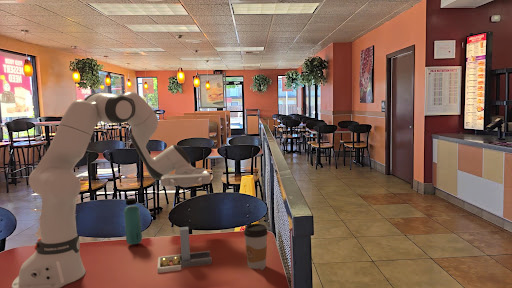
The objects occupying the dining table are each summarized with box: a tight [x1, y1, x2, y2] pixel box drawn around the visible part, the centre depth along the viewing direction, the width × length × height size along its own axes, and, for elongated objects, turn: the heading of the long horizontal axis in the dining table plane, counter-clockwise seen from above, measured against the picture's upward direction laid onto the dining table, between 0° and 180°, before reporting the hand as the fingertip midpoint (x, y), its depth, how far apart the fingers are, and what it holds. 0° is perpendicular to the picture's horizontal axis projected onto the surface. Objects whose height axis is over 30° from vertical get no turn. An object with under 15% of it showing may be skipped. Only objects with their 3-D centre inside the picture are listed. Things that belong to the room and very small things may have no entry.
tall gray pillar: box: [179, 226, 191, 261], centre depth 141 cm, size 3×4×13 cm
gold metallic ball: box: [160, 258, 170, 267], centre depth 140 cm, size 3×3×3 cm
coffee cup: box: [243, 223, 268, 271], centre depth 138 cm, size 8×8×15 cm
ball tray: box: [157, 253, 182, 274], centre depth 140 cm, size 8×10×2 cm
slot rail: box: [180, 250, 213, 269], centre depth 143 cm, size 11×7×3 cm, turn 102°
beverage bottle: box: [123, 197, 143, 245], centre depth 162 cm, size 6×7×20 cm
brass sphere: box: [172, 257, 181, 266], centre depth 142 cm, size 3×3×3 cm
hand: (186, 183), depth 154 cm, fingers open, 8 cm apart
